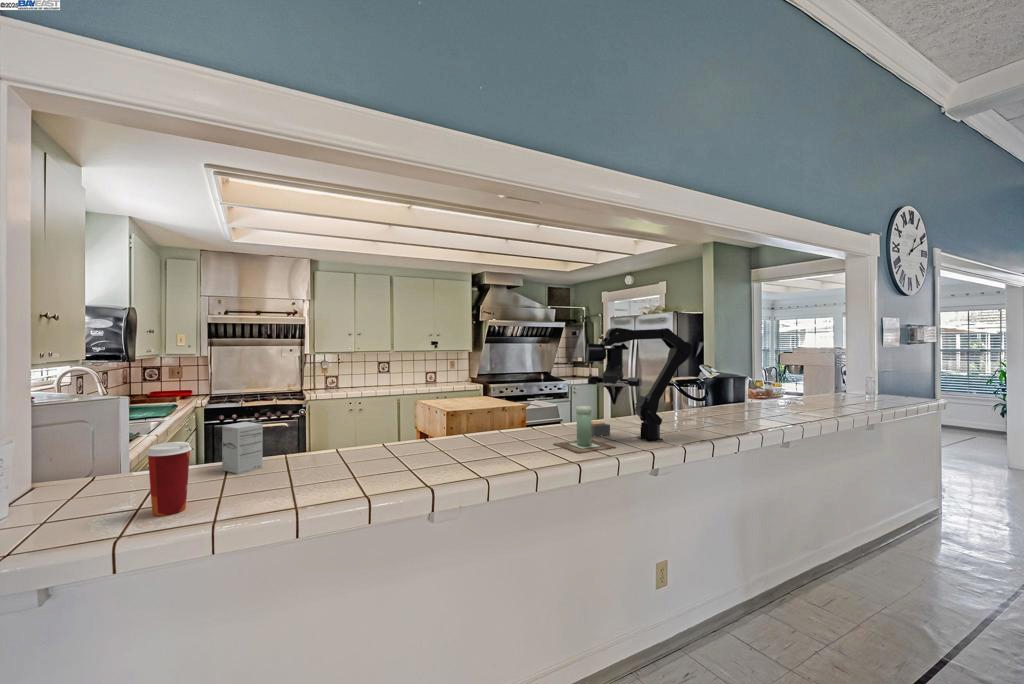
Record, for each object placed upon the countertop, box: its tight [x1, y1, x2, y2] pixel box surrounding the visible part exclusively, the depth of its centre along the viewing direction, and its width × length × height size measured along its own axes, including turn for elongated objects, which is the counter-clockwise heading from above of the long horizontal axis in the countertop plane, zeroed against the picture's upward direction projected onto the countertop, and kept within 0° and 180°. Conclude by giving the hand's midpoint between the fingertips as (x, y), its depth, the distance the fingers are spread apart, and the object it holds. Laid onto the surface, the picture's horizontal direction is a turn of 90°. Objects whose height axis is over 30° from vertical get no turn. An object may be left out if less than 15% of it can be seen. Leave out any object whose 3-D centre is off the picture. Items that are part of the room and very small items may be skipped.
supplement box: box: [221, 421, 264, 475], centre depth 125 cm, size 7×7×13 cm
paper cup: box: [145, 441, 193, 517], centre depth 95 cm, size 8×8×14 cm
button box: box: [591, 423, 611, 437], centre depth 174 cm, size 8×8×4 cm
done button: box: [591, 420, 606, 426], centre depth 174 cm, size 5×5×2 cm
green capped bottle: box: [575, 405, 593, 446], centre depth 154 cm, size 5×5×13 cm
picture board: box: [553, 439, 617, 454], centre depth 154 cm, size 16×14×1 cm
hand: (614, 404), depth 164 cm, fingers closed
